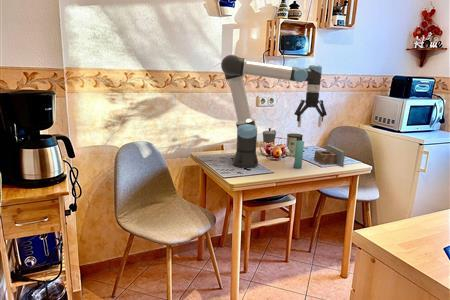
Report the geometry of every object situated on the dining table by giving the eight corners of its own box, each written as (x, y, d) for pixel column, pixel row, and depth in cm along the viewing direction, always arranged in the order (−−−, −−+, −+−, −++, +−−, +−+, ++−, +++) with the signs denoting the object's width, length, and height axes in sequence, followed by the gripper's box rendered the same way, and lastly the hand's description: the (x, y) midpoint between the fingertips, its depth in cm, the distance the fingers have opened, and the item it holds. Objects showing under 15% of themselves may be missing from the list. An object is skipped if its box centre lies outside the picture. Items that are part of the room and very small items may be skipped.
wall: (340, 166, 203) (342, 152, 201) (325, 157, 222) (326, 144, 220) (343, 166, 204) (345, 152, 201) (328, 157, 223) (329, 144, 220)
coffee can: (299, 153, 230) (301, 133, 227) (302, 157, 220) (304, 136, 217) (284, 152, 231) (286, 132, 227) (286, 156, 220) (288, 136, 217)
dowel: (295, 168, 195) (298, 142, 191) (292, 166, 199) (295, 140, 195) (302, 168, 196) (305, 142, 192) (299, 166, 200) (302, 140, 196)
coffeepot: (269, 157, 218) (271, 130, 213) (257, 154, 223) (258, 128, 219) (280, 152, 230) (282, 127, 225) (268, 150, 235) (269, 125, 231)
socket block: (321, 164, 206) (322, 154, 205) (314, 159, 216) (315, 150, 214) (335, 164, 208) (337, 154, 206) (328, 159, 217) (329, 150, 216)
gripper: (296, 91, 192) (292, 128, 197) (335, 92, 198) (330, 127, 203) (291, 90, 199) (287, 125, 205) (328, 91, 205) (324, 125, 210)
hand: (309, 126), depth 204 cm, fingers open, 13 cm apart
